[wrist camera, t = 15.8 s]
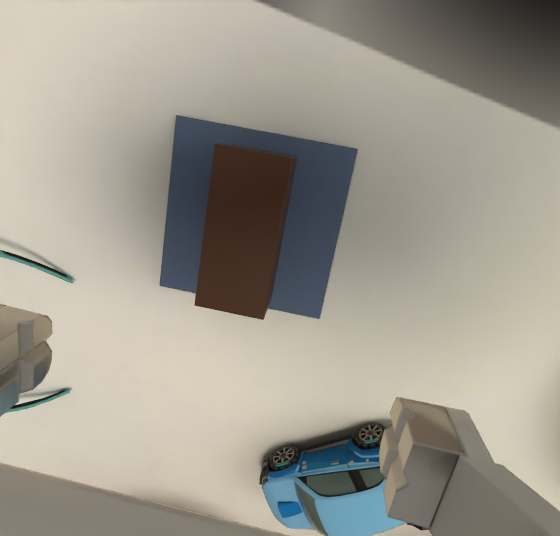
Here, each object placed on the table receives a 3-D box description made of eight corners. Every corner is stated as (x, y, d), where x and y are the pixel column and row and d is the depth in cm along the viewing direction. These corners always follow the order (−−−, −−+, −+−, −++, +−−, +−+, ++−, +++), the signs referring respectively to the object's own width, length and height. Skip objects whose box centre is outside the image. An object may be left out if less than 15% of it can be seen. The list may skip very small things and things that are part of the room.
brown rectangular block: (230, 144, 27) (214, 143, 23) (297, 156, 27) (292, 158, 23) (210, 285, 30) (194, 305, 26) (271, 298, 30) (263, 320, 26)
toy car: (256, 449, 34) (243, 506, 28) (400, 413, 32) (416, 468, 26) (281, 504, 35) (273, 570, 30) (421, 475, 33) (440, 539, 27)
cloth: (177, 115, 27) (176, 115, 27) (357, 149, 27) (357, 149, 26) (161, 284, 31) (159, 285, 30) (319, 317, 30) (319, 319, 30)
